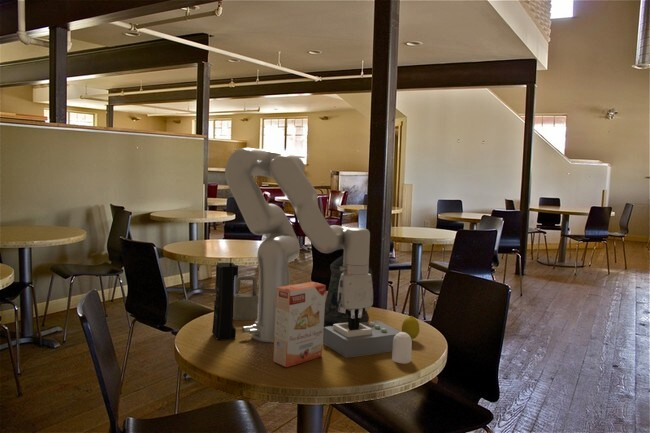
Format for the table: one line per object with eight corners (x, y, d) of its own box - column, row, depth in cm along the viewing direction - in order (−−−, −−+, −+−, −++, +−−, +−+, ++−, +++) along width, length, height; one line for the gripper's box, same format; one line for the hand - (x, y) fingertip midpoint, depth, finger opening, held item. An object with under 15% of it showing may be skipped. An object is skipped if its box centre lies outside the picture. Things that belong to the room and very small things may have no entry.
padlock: (232, 317, 184) (233, 275, 183) (255, 316, 187) (256, 274, 185) (234, 320, 180) (235, 277, 179) (258, 319, 183) (259, 276, 182)
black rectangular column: (210, 333, 166) (212, 254, 163) (229, 331, 168) (232, 254, 166) (216, 340, 158) (218, 258, 156) (235, 339, 161) (238, 258, 159)
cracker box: (287, 369, 139) (290, 290, 137) (272, 362, 143) (275, 286, 141) (323, 356, 149) (327, 284, 147) (308, 351, 153) (311, 280, 151)
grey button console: (346, 358, 148) (347, 335, 148) (322, 342, 161) (323, 322, 160) (403, 349, 158) (404, 328, 157) (377, 335, 170) (378, 316, 170)
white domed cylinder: (391, 356, 152) (392, 329, 151) (409, 357, 152) (411, 330, 151) (392, 362, 146) (394, 334, 146) (411, 363, 146) (413, 335, 146)
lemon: (420, 339, 168) (422, 315, 167) (416, 344, 163) (417, 319, 162) (403, 336, 170) (405, 312, 170) (398, 341, 165) (400, 316, 165)
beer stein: (313, 328, 175) (316, 254, 173) (331, 314, 194) (334, 246, 192) (361, 335, 170) (365, 258, 168) (375, 320, 189) (378, 250, 186)
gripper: (340, 273, 149) (338, 337, 150) (384, 270, 156) (381, 330, 157) (327, 268, 155) (325, 329, 157) (370, 265, 162) (367, 324, 164)
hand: (353, 330), depth 157 cm, fingers closed
